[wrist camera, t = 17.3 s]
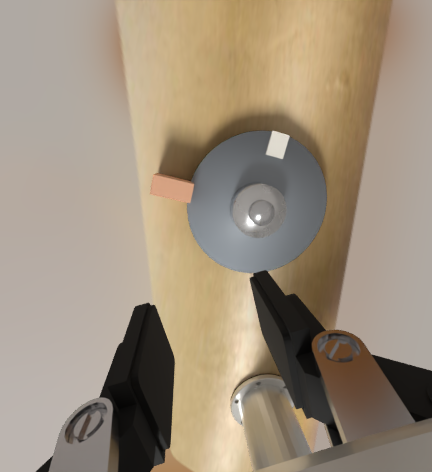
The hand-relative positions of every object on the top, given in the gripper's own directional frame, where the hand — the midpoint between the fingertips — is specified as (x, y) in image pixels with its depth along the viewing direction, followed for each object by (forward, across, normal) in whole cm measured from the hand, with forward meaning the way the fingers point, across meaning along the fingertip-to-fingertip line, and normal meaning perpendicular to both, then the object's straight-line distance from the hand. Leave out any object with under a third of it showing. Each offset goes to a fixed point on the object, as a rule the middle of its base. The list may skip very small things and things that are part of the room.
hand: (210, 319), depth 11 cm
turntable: (+27, -7, +1) cm, 28 cm away
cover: (+25, -8, +2) cm, 26 cm away
